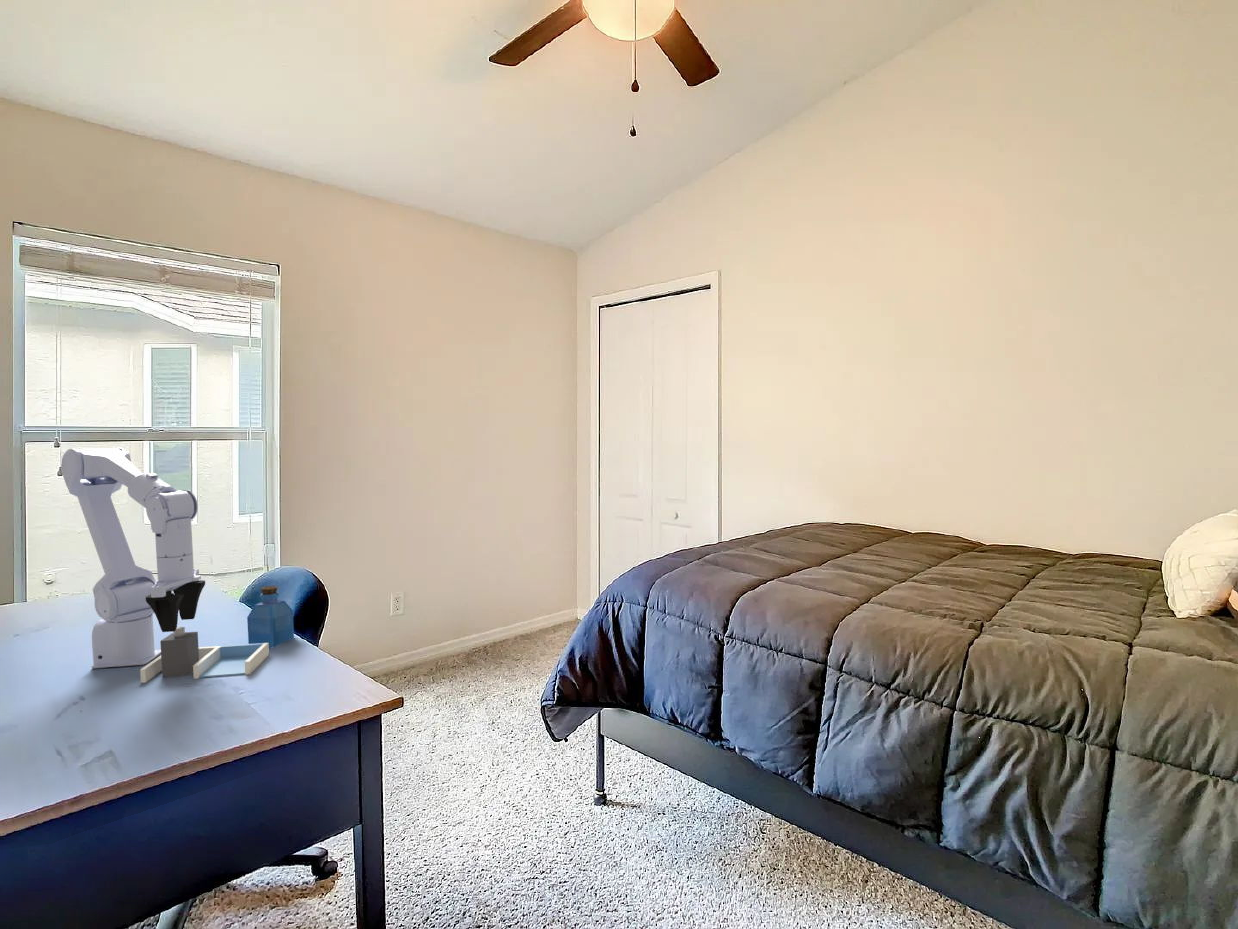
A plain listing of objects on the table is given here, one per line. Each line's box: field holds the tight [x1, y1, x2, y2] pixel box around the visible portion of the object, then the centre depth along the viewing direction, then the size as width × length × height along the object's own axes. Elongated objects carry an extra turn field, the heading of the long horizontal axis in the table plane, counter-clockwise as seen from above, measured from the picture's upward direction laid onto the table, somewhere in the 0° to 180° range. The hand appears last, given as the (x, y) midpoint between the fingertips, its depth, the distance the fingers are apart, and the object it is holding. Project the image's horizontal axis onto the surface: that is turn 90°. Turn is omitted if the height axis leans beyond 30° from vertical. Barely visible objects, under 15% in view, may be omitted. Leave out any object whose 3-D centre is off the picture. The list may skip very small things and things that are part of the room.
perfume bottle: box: [246, 585, 295, 648], centre depth 141 cm, size 6×6×12 cm
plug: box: [160, 626, 199, 678], centre depth 124 cm, size 4×4×8 cm
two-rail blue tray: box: [139, 643, 270, 684], centre depth 126 cm, size 18×11×2 cm, turn 101°
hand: (178, 625), depth 124 cm, fingers open, 7 cm apart
